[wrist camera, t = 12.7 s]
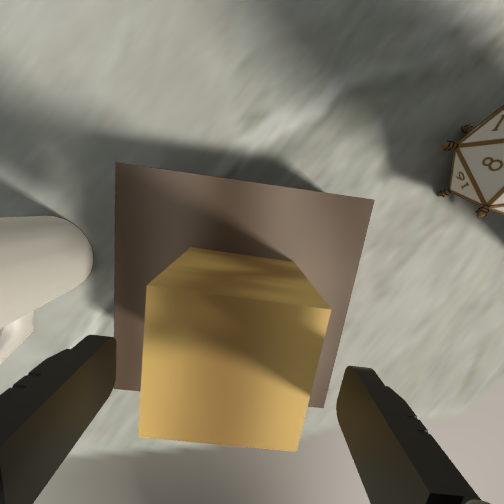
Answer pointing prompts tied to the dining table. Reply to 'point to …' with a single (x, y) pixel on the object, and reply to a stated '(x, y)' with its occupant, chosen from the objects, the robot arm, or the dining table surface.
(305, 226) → the riser
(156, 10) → the dining table surface
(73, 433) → the robot arm
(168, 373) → the ochre block
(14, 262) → the mug
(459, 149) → the game die
